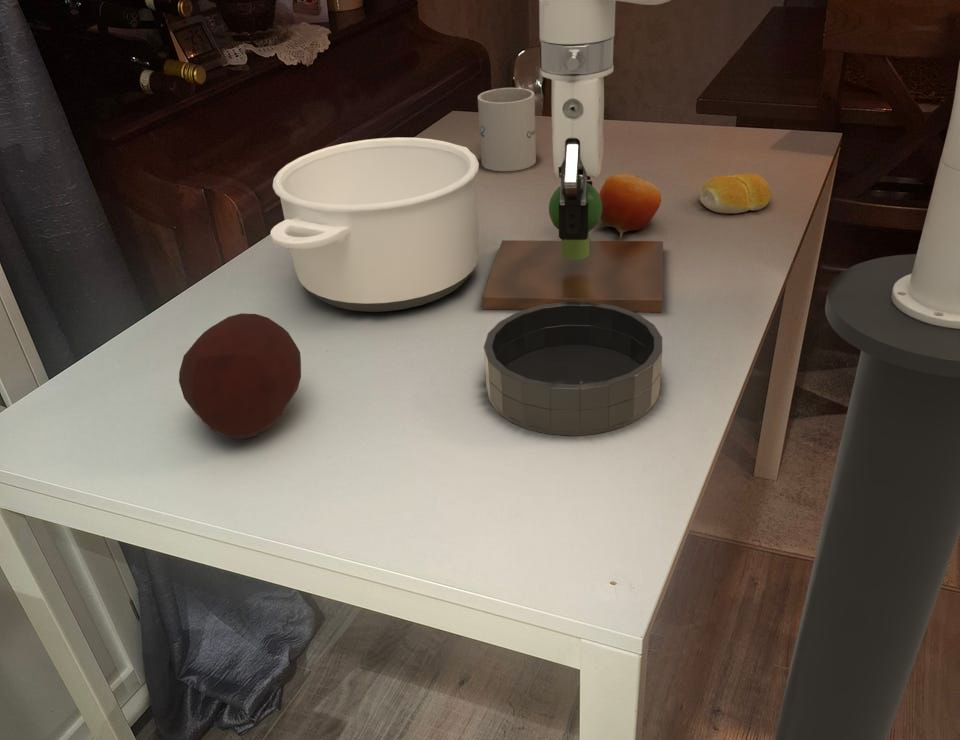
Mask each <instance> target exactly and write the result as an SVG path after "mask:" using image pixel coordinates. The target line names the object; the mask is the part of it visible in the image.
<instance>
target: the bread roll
mask: <svg viewBox="0 0 960 740" xmlns="http://www.w3.org/2000/svg"><path fill="white" fill-rule="evenodd" d="M771 196H772V191H771V188H770V185H769V183H768V182H767V181H766V179H765V178H763V177H762V176H760V175H759V174H756V173H750V172H749V173H737V174H732V175H720V176H713V177H711V178H709V179H708V180H707V181H706V182H705V183H704V184H703V186H702V187H701V191H700V195H699V200H700V203H701V204H702V205H703V206H704V207H705V208H706V209H708V210H710V211H713V212H714V213H718V214H740V213H745V212H749V211H760V210H762V209H763V208H766V206H767V205H768V203H769V202H770V200H771Z"/></svg>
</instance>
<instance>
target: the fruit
mask: <svg viewBox="0 0 960 740" xmlns="http://www.w3.org/2000/svg"><path fill="white" fill-rule="evenodd" d="M598 193H599V195H600V198H601V201H602V214H601V217H600V223H601V224H600V225H601V229H602V228H607V227H610V228H611V227H612V228H614V229H616V231H617V232H618V233H619V238H620V239H622V238H623V234H624V233H626V232H630V231H640V230H641V229H644V228H646V227H648V225H649V224H650V222H651V221H652V219H653V217H654V216H655V215H656V213H657V212H658V210H659V208H660V206H661V202H662V196H661V191H660V190H659V189H658V188H657V187H656V185H654V184H653V183H652V182H650V181H647V180H645V179H642V178H640V177H639V176H637V175H635V176H634V175H632V174H630V173H627V172H620V173H619V174H615V175H612V176H611V175H610V176H608V177H607V178H605V181H604V182H603V184H602V186H601V188H600V191H599V192H598Z"/></svg>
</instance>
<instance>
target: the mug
mask: <svg viewBox="0 0 960 740" xmlns="http://www.w3.org/2000/svg"><path fill="white" fill-rule="evenodd" d="M535 98H536V97H535V92H534V91H533V90H531V89H528V88H522V87H500V88H494V89H489V90H486V91H483V92H481V93H479V94H478V95H477V109H478V110H477V111H478V126H479V127H478V129H479V142H480V143H479V144H480V157H481V158H480V159H481V160H480V161H481V166H482V167H484V169H486V170H490V171H494V172H515V171H521V170H525V169H528V168H530V167H532V166H534V165H535V164H536V163H537V146H536V145H537V143H536V102H535V100H536V99H535Z"/></svg>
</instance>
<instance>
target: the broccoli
mask: <svg viewBox="0 0 960 740" xmlns="http://www.w3.org/2000/svg"><path fill="white" fill-rule="evenodd" d="M577 182H578V185H577V186H580V188H581V181H577ZM599 193H600V192H599V191H598V190H597V189H596V188H595V187H594V186H593V184H592V185H590V184H589V183H587V187H586V203H589V204H588V238H587V239H586V240H561V239H560V241H562V256H563V257H564V258H566V259H569V260H580V259H584V258H586V257H588V256H589V241H590V232H591V231H592V230H593V229H594V228H595V227H596V226H597V225H598V223H599V221H601V219H600V217H601V214H602V201H601V198H600V195H599ZM559 203H560V186H558V187H557V188H556V189H554V192H553V193H552V195H551V197H550V199H549V203H548V215H549V219H550V221H551V223H552V225H553V227H554V228H556V229H557V230H558V231H559Z"/></svg>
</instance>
